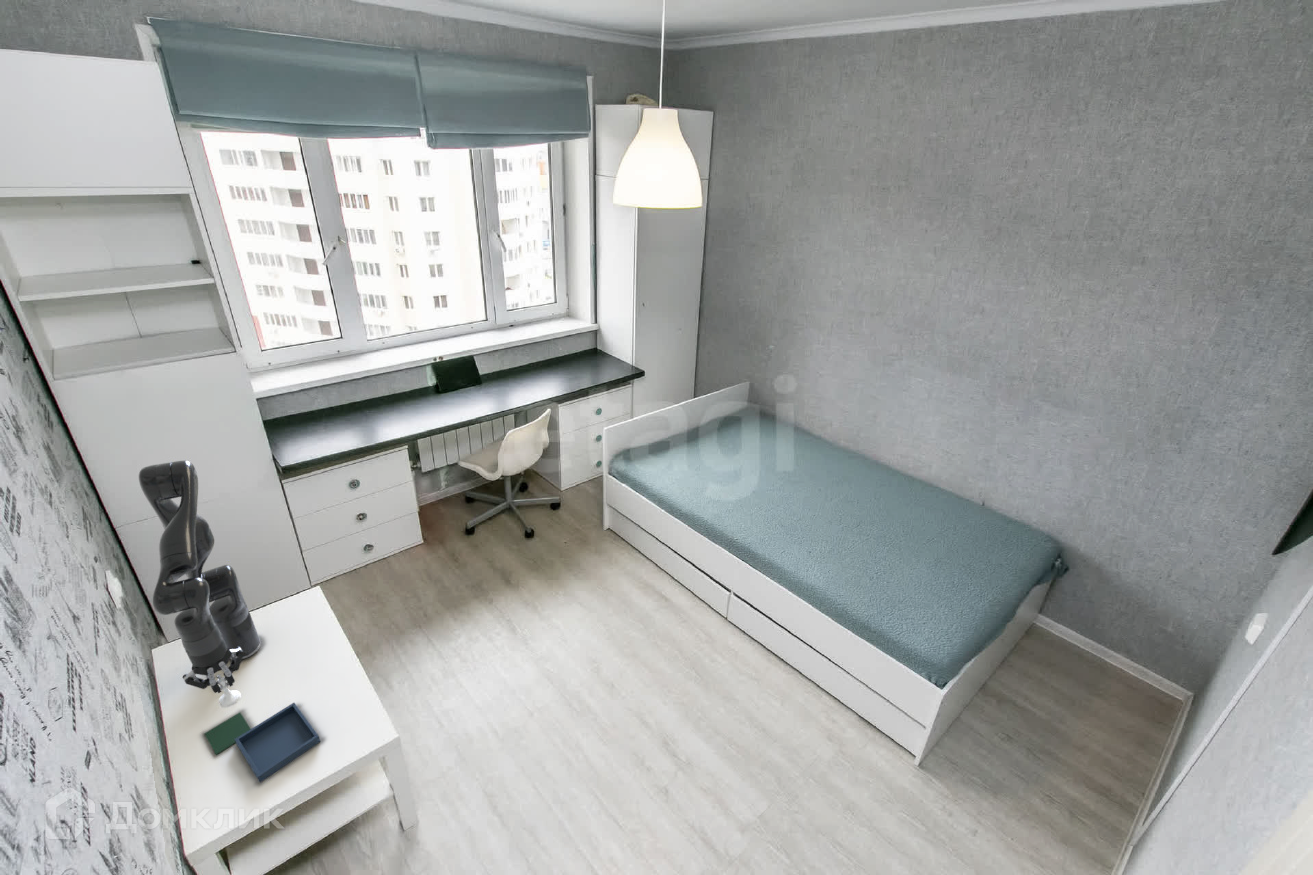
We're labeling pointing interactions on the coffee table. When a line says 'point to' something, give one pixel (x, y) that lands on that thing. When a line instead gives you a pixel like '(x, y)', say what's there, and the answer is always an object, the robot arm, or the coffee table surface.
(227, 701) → the chess piece
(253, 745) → the tray
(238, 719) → the pad
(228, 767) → the coffee table surface
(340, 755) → the coffee table surface
